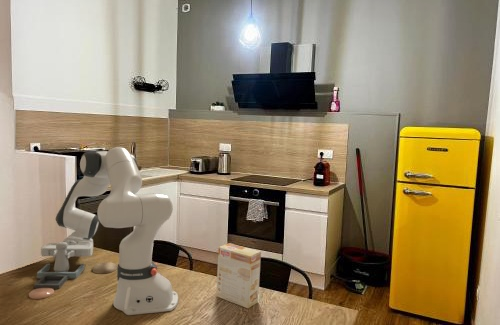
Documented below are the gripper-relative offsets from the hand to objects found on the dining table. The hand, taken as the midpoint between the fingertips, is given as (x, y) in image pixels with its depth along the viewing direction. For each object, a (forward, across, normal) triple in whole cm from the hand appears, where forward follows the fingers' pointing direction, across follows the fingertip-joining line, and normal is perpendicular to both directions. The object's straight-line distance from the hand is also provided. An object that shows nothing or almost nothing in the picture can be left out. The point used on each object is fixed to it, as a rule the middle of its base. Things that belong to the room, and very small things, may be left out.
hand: (60, 256), depth 151 cm
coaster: (+18, 0, +8) cm, 19 cm away
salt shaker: (-1, 0, +8) cm, 8 cm away
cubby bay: (-1, 0, +8) cm, 8 cm away
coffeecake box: (+22, +71, +8) cm, 75 cm away
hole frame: (+9, 0, +8) cm, 12 cm away
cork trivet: (-6, +16, +8) cm, 19 cm away
